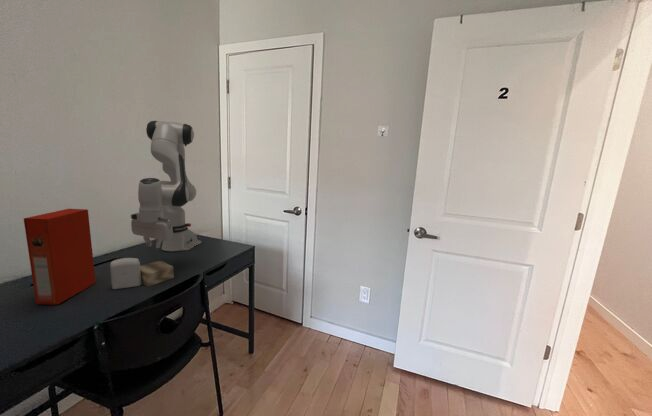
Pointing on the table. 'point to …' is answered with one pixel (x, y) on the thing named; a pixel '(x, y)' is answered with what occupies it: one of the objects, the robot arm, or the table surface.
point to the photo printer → (125, 273)
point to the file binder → (60, 254)
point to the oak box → (156, 272)
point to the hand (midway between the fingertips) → (153, 246)
